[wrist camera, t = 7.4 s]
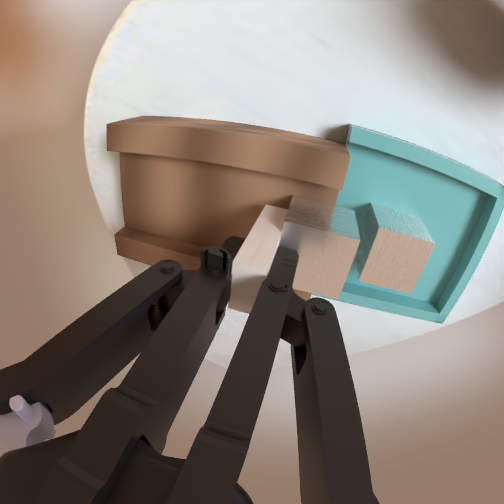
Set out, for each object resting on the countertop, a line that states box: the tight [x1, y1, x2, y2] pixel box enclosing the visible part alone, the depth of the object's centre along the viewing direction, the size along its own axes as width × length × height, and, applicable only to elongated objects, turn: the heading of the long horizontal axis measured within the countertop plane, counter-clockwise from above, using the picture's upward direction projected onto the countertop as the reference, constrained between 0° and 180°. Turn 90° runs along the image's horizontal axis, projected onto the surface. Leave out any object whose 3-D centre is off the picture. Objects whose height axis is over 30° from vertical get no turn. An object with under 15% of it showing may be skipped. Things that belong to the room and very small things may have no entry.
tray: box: [311, 124, 504, 323], centre depth 18 cm, size 13×13×2 cm
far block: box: [356, 203, 435, 294], centre depth 17 cm, size 4×4×4 cm
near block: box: [279, 195, 360, 299], centre depth 16 cm, size 4×4×4 cm
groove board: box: [107, 116, 350, 301], centre depth 20 cm, size 16×11×4 cm
